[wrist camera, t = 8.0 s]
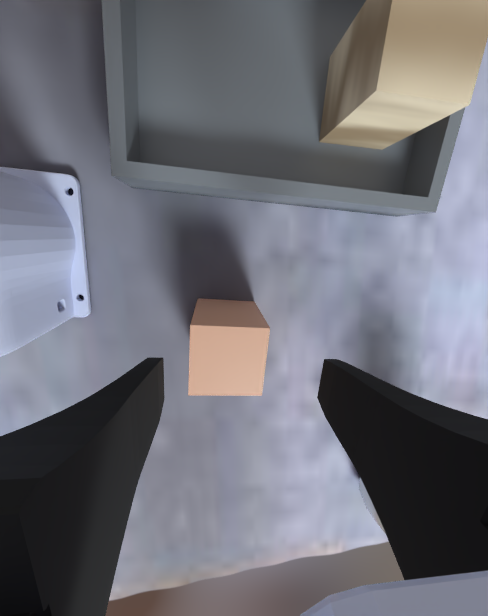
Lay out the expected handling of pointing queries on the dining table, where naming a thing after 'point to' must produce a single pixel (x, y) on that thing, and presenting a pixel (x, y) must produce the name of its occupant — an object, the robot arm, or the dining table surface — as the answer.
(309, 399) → the dining table surface
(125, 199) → the dining table surface
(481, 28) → the beech block
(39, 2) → the dining table surface
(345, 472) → the dining table surface
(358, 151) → the slate tray
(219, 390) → the terracotta block
